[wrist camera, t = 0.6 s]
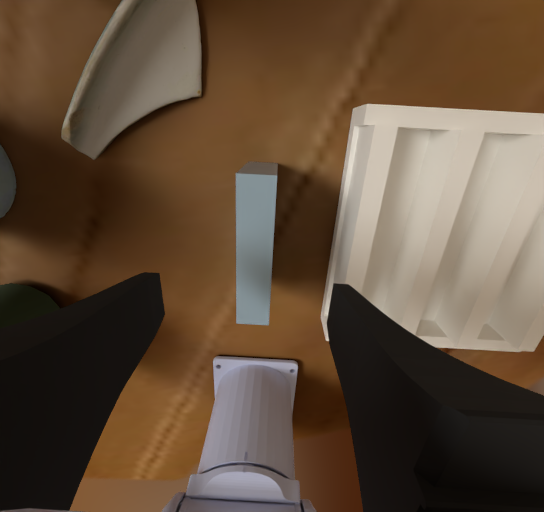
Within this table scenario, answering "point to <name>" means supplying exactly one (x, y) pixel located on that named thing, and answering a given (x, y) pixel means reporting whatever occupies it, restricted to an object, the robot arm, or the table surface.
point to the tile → (254, 240)
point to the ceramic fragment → (135, 71)
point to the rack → (445, 224)
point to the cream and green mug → (23, 304)
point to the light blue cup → (6, 183)
